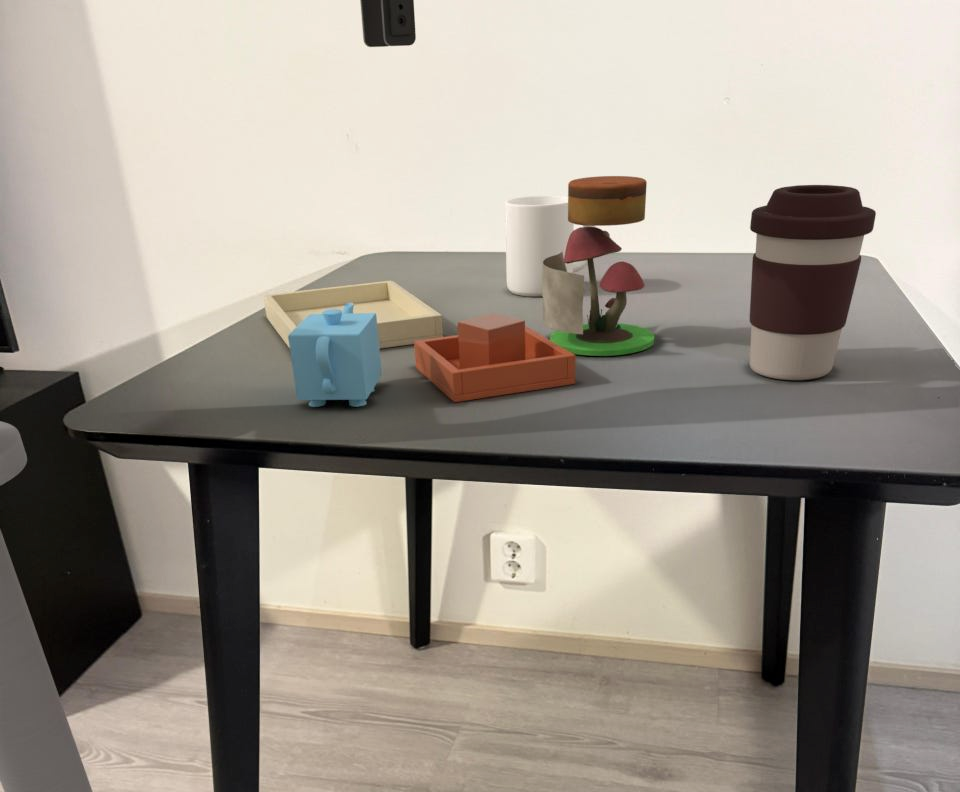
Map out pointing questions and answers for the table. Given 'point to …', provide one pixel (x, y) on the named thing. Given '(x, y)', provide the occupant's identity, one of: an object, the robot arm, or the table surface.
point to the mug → (535, 240)
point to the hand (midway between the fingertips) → (388, 46)
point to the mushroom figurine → (565, 291)
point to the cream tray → (359, 310)
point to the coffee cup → (804, 277)
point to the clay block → (490, 340)
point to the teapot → (336, 356)
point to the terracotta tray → (494, 368)
